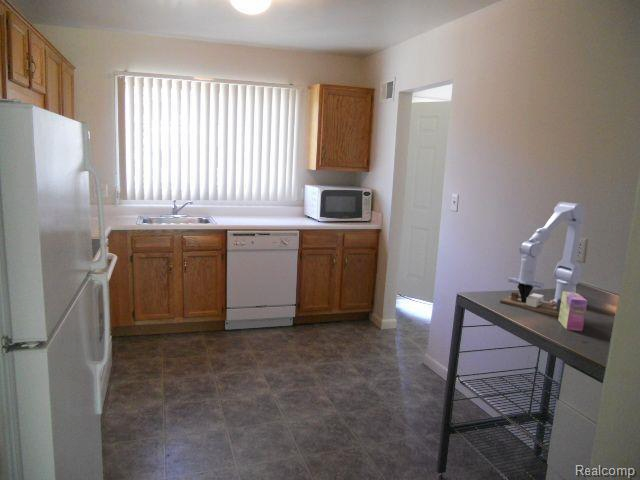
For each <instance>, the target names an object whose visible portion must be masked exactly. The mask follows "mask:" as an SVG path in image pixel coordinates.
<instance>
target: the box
mask: <svg viewBox="0 0 640 480" xmlns="http://www.w3.org/2000/svg"><path fill="white" fill-rule="evenodd" d="M587 305H588V300H587V299H586V297H585V298H584V296H582V295H581V294H580V293H579V292H576V293H575V292H564V291H563V292H562V299H561V305H560V312H559V317H558V319H557V320H558V322H559V323H560V324H561V325H562V326H563V328H565V331H566V330H567V331H575V332H576V331H577V332H583V330H584V325H585V323H584V322H585V317H586V312H587V307H588V306H587Z"/></svg>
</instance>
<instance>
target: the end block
mask: <svg viewBox="0 0 640 480" xmlns="http://www.w3.org/2000/svg"><path fill="white" fill-rule="evenodd" d="M561 299H562V298H561V297H560V298H559V299H558V301H557V308H556V311H558V312H560V305H561Z"/></svg>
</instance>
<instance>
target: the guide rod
mask: <svg viewBox="0 0 640 480" xmlns="http://www.w3.org/2000/svg"><path fill="white" fill-rule="evenodd" d="M517 298H521V295H520V294H518V295H517ZM549 302H550V301H546V300H544V299H543V300H539V303H543V304H548V305H549ZM553 306H556V307H557V303H555V302H554V303H553Z"/></svg>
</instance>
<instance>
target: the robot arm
mask: <svg viewBox="0 0 640 480" xmlns="http://www.w3.org/2000/svg"><path fill="white" fill-rule="evenodd" d="M585 215H586V208H585V207H584V205H583V204H582V203H575V202H565V201H560V202H558V203H557V204H556V206H555V207H554V209H553V213H552V215H551V216H550V218H549V219H548V220H547V222H546V223H545V225H544V226H543V227H539V228H537V229H536V230H535V232H534V233H533V234H532V235H531V237H530V238H529V239H528V240H525V241H524V242H522V243H521V244H520V246H519V253H520V259H521V262H520V269H519V276H518V277H512V276H509V277H507V282H508V283H514V284H518V285H517V289H518V293H519V295H520V296H521V302H523V303H525V302H526V299H527V297H528V296H530V295H531V292H532V291H533V289H534V288H538V289H541V290H545V289H546V283H542V282H539V281H535V276H536V267H537V258H538V257H539V256H540V255H541V253H542V251H543V248H544V245H545V244H546V243H547V242H548V241H549V240H550V238H551V236H552V235H551V233H552V232H553V231H554V230H555V229H556V228H557V227H558V226H559V225H560V224H561V223H562V222H563V221H565V222H566V223H567V225H568V226H567V230H566V236H565V243H564V248H563V254H562V259H561V260H559V261H558V262H557V263H556V266H555V269H554V270H553V277H554V279H555V281H556V287H555V288H556V289H555V293H554V298H553V299H551V300H552V301H554V303H557V301H558V299H559V298H560V297H561V298H562V292H563V291H564V292H575V293H577V292H576V291H577V287H576V286H577V285H578V284H579V283H580V281H581V280H582V267H581V265H580V264H579V263H578V261H577V260H578V253H579V247H580V242H581V237H582V231H583V226H584V221H585Z"/></svg>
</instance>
